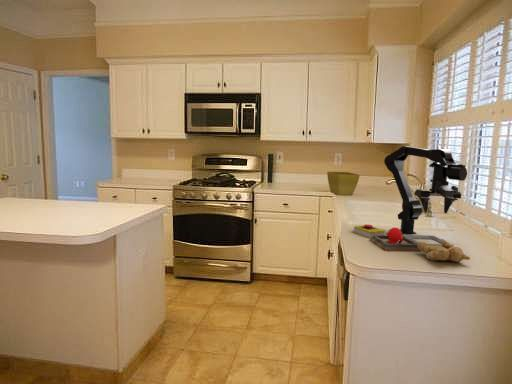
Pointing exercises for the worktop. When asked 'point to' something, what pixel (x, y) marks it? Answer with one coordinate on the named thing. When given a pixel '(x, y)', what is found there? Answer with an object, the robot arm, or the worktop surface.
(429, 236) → the tray
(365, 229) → the emergency button
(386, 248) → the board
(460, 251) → the ginger root
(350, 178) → the flower pot
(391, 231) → the red rounded lump
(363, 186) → the worktop surface
